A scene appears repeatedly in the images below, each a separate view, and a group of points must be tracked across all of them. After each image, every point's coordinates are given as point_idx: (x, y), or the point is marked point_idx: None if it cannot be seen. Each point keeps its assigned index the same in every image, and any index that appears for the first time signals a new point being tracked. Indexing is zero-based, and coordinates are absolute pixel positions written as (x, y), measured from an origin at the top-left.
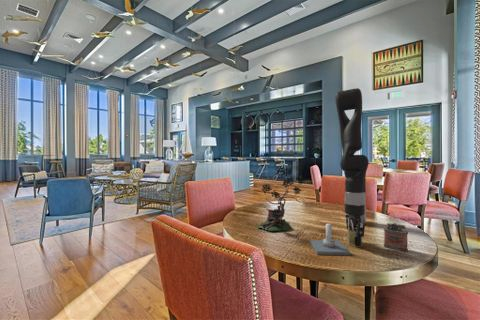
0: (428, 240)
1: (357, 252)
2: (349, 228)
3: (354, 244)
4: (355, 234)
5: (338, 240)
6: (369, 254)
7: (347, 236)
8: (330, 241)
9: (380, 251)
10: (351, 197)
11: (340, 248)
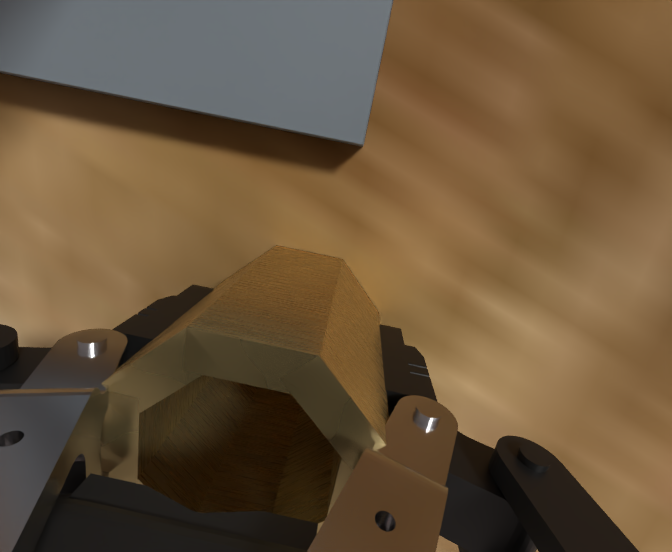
0: None
1: (59, 208)
2: (372, 438)
3: (216, 288)
4: (55, 350)
5: (364, 132)
6: (18, 300)
7: (327, 288)
8: None
9: None
10: None
11: None
